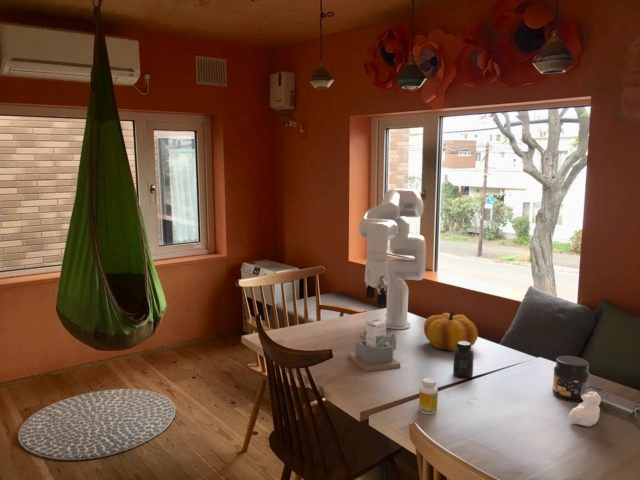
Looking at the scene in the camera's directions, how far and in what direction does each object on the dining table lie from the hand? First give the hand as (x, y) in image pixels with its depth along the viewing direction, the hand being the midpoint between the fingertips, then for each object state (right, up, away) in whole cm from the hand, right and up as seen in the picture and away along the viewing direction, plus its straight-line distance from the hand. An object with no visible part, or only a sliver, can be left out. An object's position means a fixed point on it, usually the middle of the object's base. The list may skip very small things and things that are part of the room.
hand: (375, 301), depth 204 cm
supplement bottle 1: (+12, -30, -36) cm, 48 cm away
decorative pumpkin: (+32, -21, +22) cm, 44 cm away
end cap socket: (0, -23, +3) cm, 24 cm away
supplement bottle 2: (+30, -26, -8) cm, 40 cm away
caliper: (+3, -21, +26) cm, 33 cm away
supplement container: (+61, -28, -24) cm, 71 cm away
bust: (+57, -31, -43) cm, 78 cm away
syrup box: (0, -22, +3) cm, 22 cm away
